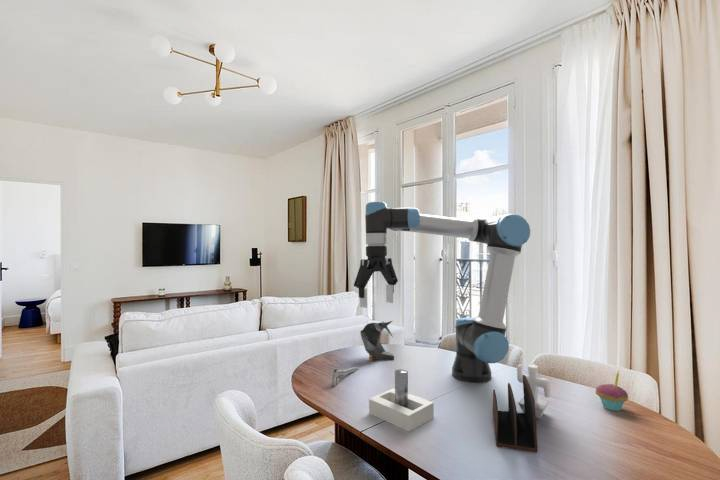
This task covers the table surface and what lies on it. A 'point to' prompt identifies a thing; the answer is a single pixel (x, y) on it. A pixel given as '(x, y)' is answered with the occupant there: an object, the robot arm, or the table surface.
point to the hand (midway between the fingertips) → (377, 304)
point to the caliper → (341, 374)
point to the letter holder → (516, 422)
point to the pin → (401, 387)
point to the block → (401, 410)
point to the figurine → (534, 388)
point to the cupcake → (612, 395)
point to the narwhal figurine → (375, 341)
